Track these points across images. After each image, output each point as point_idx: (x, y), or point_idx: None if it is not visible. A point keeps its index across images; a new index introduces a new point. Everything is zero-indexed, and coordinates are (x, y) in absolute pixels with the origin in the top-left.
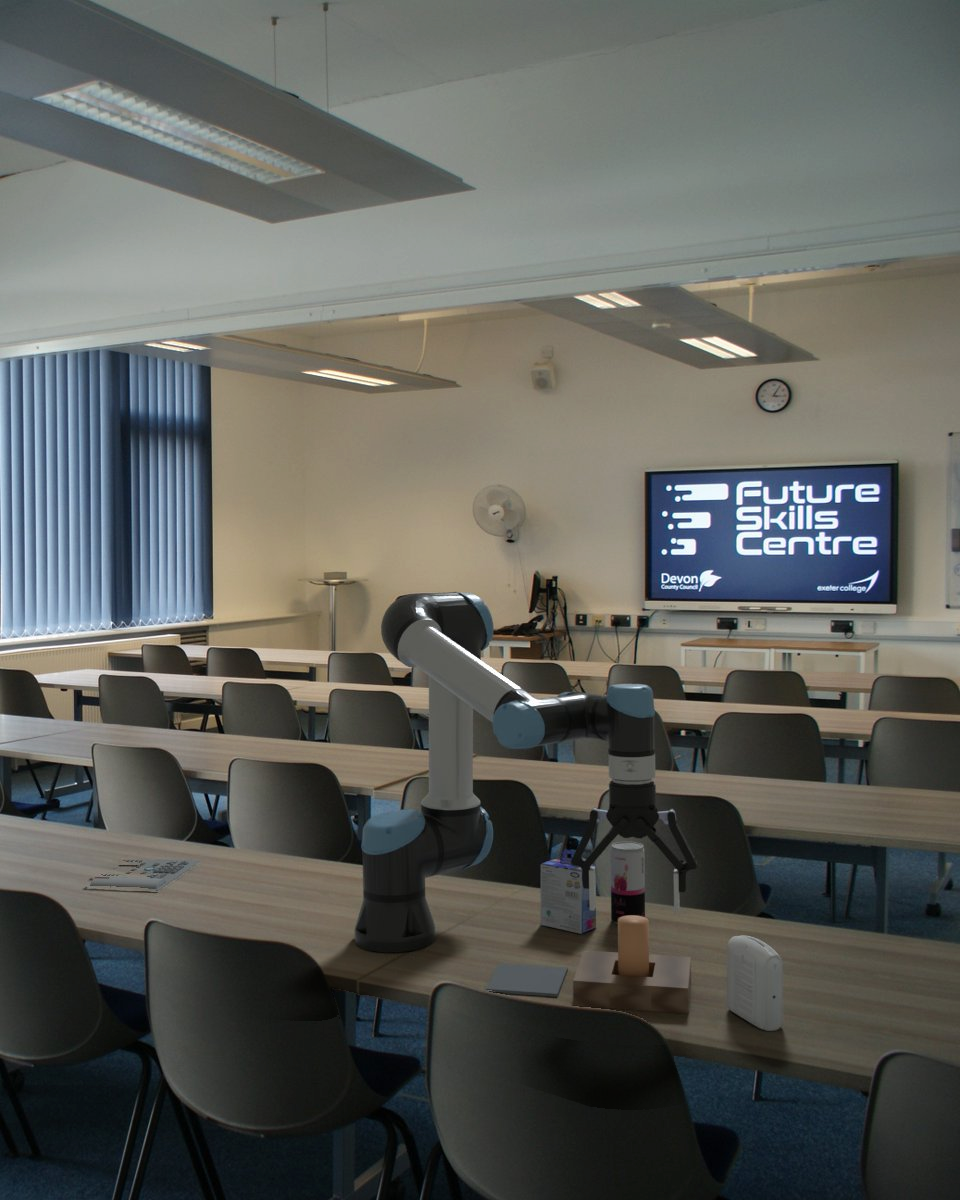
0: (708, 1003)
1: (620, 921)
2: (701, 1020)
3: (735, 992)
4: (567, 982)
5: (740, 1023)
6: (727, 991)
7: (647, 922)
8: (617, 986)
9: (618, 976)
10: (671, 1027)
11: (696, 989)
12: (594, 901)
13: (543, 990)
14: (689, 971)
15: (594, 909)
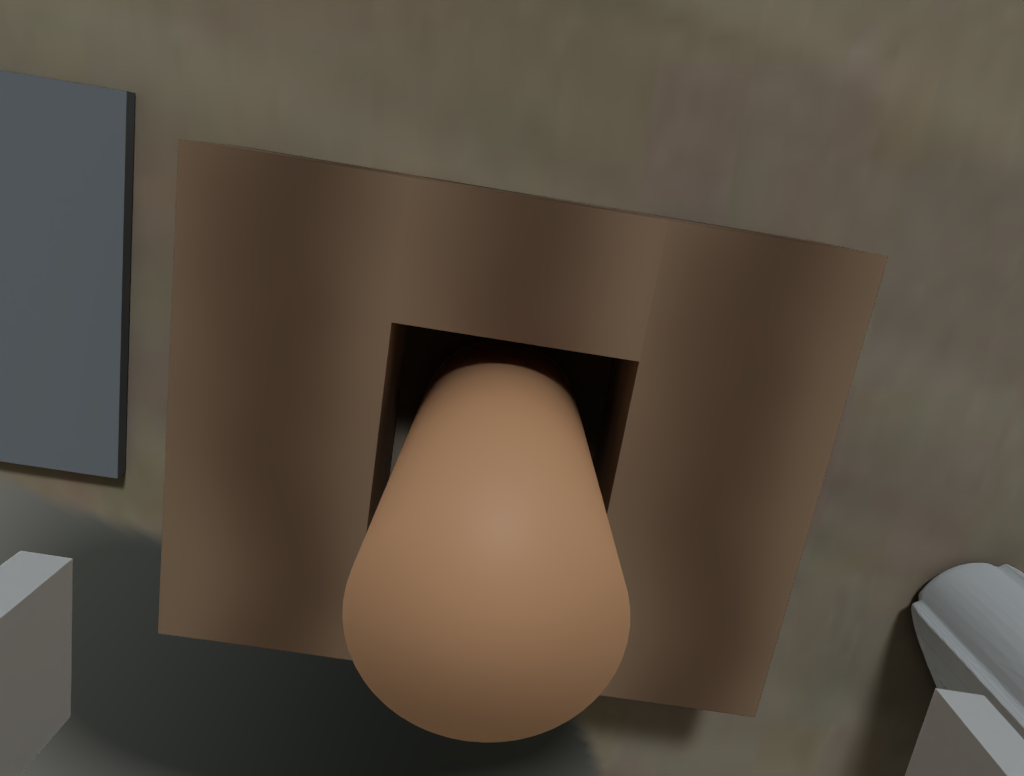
0: (839, 530)
1: (366, 654)
2: (762, 698)
3: None
4: (154, 281)
5: (917, 721)
6: (951, 659)
7: (611, 677)
8: None
9: None
10: (624, 759)
11: None
12: (15, 746)
13: (41, 439)
14: (817, 497)
15: (68, 701)
